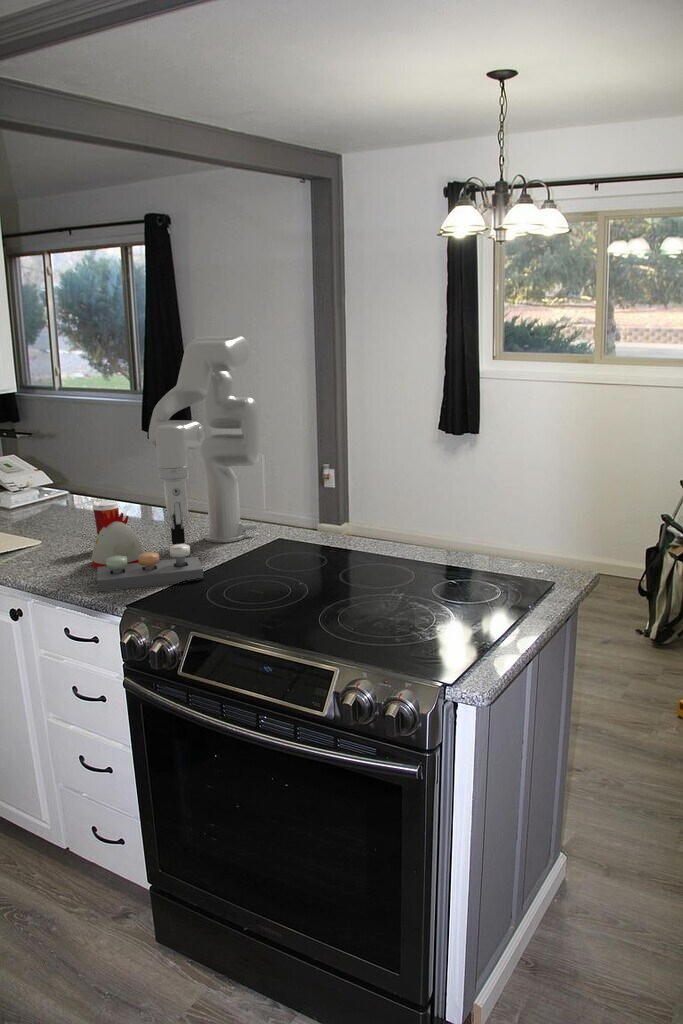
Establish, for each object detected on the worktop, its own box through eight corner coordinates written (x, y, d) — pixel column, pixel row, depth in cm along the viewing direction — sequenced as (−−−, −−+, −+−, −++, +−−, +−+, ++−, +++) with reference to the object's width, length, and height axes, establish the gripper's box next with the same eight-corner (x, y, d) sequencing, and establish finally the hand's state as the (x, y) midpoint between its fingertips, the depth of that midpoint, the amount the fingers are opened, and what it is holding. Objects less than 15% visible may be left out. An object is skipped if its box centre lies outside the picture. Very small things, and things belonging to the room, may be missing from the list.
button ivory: (189, 561, 224) (188, 543, 223) (192, 567, 219) (190, 548, 218) (170, 563, 223) (168, 545, 222) (171, 569, 218) (170, 550, 217)
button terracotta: (159, 569, 223) (158, 551, 221) (161, 575, 218) (159, 556, 217) (139, 572, 221) (137, 553, 220) (140, 577, 216) (138, 559, 215)
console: (198, 567, 229) (197, 556, 228) (203, 580, 218) (202, 569, 217) (98, 578, 222) (97, 567, 221) (98, 591, 211) (97, 580, 210)
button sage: (128, 573, 220) (126, 554, 219) (129, 579, 216) (127, 560, 214) (107, 575, 219) (105, 556, 218) (107, 581, 214) (106, 562, 213)
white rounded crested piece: (85, 562, 237) (79, 510, 234) (131, 552, 245) (126, 502, 242) (104, 573, 226) (99, 518, 223) (152, 563, 234) (147, 510, 231)
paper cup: (116, 553, 245) (111, 506, 241) (91, 552, 246) (86, 505, 243) (128, 545, 252) (123, 500, 249) (104, 545, 254) (99, 499, 250)
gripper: (191, 476, 209) (196, 548, 213) (185, 467, 223) (190, 535, 227) (160, 479, 207) (166, 551, 211) (156, 469, 221) (161, 537, 225)
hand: (178, 543), depth 219 cm, fingers closed
